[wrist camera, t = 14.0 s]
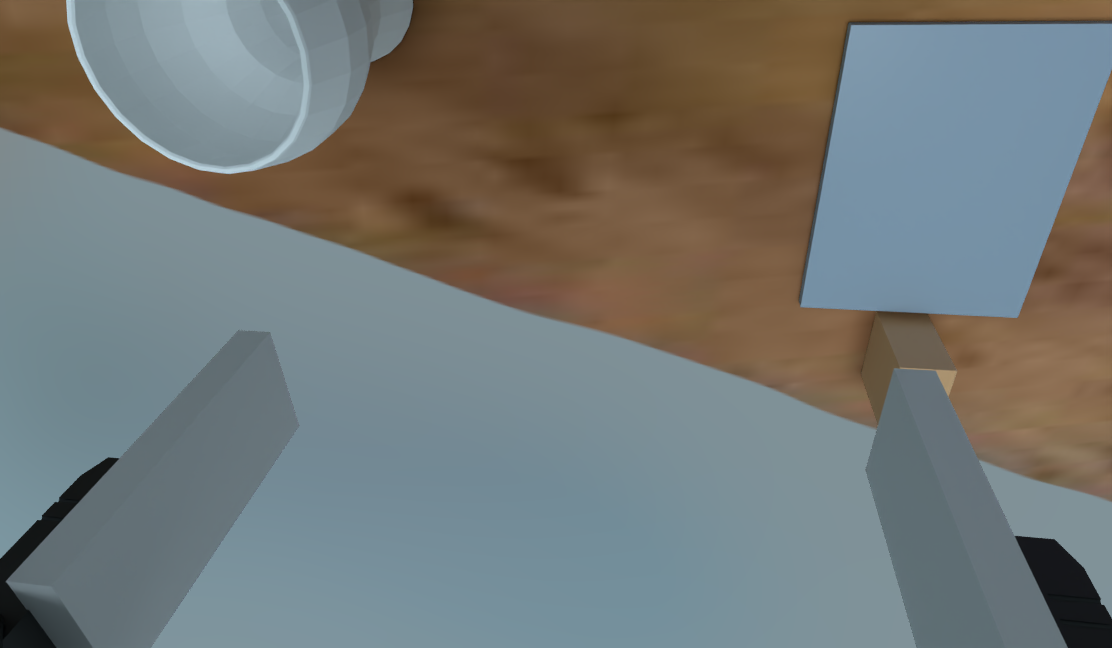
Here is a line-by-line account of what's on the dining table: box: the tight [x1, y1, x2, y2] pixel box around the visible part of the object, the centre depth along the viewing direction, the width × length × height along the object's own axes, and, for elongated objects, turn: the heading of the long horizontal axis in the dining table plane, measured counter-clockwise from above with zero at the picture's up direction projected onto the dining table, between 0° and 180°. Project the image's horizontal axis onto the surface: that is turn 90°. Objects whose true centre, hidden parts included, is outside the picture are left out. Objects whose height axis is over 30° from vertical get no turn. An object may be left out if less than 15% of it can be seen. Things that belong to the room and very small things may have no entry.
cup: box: [66, 0, 413, 174], centre depth 33 cm, size 11×11×15 cm
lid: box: [799, 21, 1112, 424], centre depth 39 cm, size 22×13×6 cm, turn 2°
